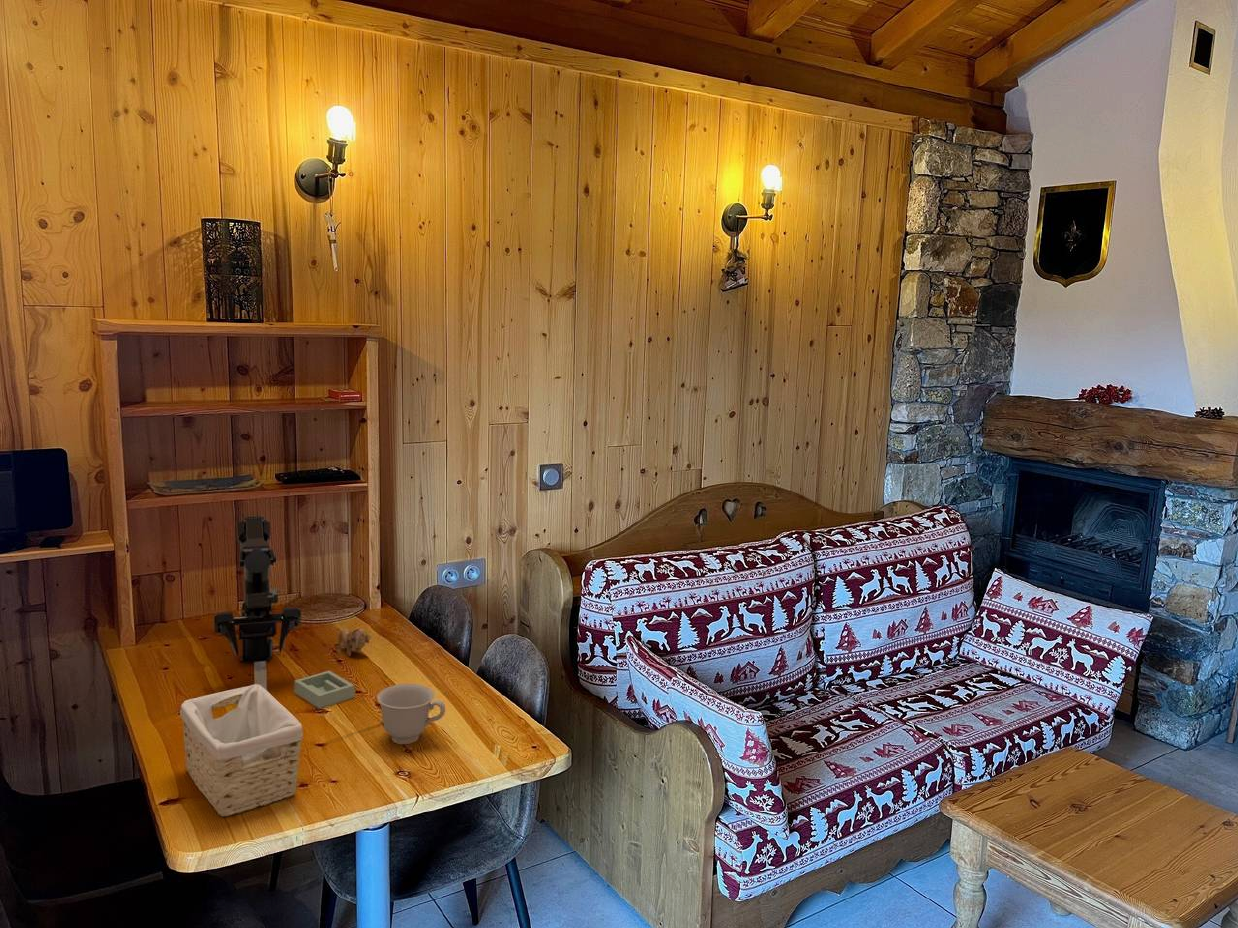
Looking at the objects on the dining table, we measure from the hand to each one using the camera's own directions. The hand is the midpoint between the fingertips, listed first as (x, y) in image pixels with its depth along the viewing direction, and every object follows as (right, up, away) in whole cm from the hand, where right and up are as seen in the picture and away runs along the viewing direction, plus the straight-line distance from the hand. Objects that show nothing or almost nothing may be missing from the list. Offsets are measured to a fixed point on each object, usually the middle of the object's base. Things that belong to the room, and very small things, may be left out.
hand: (259, 653), depth 209 cm
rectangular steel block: (+2, -12, -5) cm, 13 cm away
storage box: (+14, -11, +4) cm, 18 cm away
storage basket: (+9, -18, -32) cm, 39 cm away
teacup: (+38, -16, -12) cm, 43 cm away
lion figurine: (+12, -7, +30) cm, 33 cm away
